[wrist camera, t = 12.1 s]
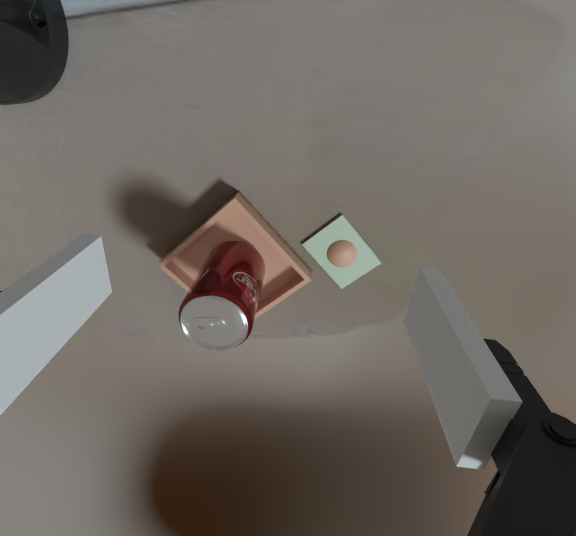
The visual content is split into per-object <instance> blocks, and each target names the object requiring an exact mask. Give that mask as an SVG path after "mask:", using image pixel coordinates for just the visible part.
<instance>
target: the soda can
mask: <svg viewBox="0 0 576 536" xmlns="http://www.w3.org/2000/svg"><path fill="white" fill-rule="evenodd" d="M264 276H265V263H264V260H263V258H262V256H261V255H260V253H259V252H258V251H257V250H256V249H255V248H253V247H252V246H250V245H249V244H247V243H244V242H240V241H227V242H223V243H221V244H219V245H217V246H216V247H214V248H213V250H212V251H211V252H210V254H209V255H208V257H207V259H206V261H205V263H204V264H203V266H202V268H201V270H200V271H199V273H198V275H197V277H196V279H195V280H194V282H193V284H192V286H191V288H190V289H189V291H188V293H187V295H186V296H185V298H184V300H183V302H182V304H181V306H180V309H179V322H180V326H181V327H182V329H183V331H184V333H185V334H186V335H187V337H188V338H189V339H190V340H191V341H192V342H194V343H195V344H197V345H199V346H201V347H203V348H206V349H209V350H217V351H218V350H219V351H220V350H227V349H231V348H234V347H237V346H238V345H240V344H242V343H243V342H244V341H245V340H246V339H247V338H248V336H249V335H250V333H251V330H252V327H253V323H254V319H255V314H256V310H257V306H258V302H259V297H260V293H261V289H262V284H263V280H264Z"/></svg>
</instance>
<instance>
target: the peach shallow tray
mask: <svg viewBox="0 0 576 536" xmlns="http://www.w3.org/2000/svg"><path fill="white" fill-rule="evenodd" d="M227 241H240V242H244V243H247V244H249V245H250V246H252V247H253V248H255V249H256V250H257V251H258V252H259V253H260V255H261V256H262V258H263V260H264V263H265V276H264V280H263V284H262V289H261V293H260V297H259V302H258V306H257V310H256V314H255V319H256V318H257V317H259V316H260V315H262V314H263V313H265V312H266V311H267V310H269V309H270V308H272V307H273V306H275V305H276V304H278V303H279V302H281V301H282V300H284V299H285V298H286V297H288V296H289V295H291V294H292V293H294V292H295V291H297V290H298V289H300V288H301V287H303V286H304V285H306V284H307V283H308V282H310V281H311V280H312V270H311V269H310V268H309V267H308V266H307V265H306V264H305V262H304V261H303V260H302V259H301V258H300V257H299V256H298V255H297V254H296V253H295V252H294V250H293V249H292V248H291V247H290V246H289V245H288V244H287V243H286V242H285V241H284V240H283V238H282V237H281V236H280V235H279V234H278V233H277V232H276V231H275V230H274V229H273V228H272V226H271V225H270V224H269V223H268V222H267V221H266V220H265V219H264V218H263V217H262V216H261V214H260V213H259V212H258V211H257V210H256V209H255V208H254V207H253V206H252V205H251V204H250V203H249V201H248V200H247V199H246V198H245V197H244V196H243V195H242V194H241V193H240V192H239V191H238V192H237V193H236V194H235V195H234V196H233V197H232V198H230V199H229V200H228V201H227V202H226V203H225V204H224V205H222V206H221V207H220V208H219V209H218V210H217V211H216V212H214V213H213V214H212V215H211V216H210V217H209V218H208V219H206V220H205V221H204V222H203V223H202V224H201V225H200V226H198V227H197V228H196V229H195V230H194V231H193V232H192V233H191V234H189V235H188V236H187V237H186V238H185V239H184V240H183V241H181V242H180V243H179V244H178V245H177V246H176V247H175V248H173V249H172V250H171V251H170V252H169V253H168V254H167V255H165V257H164V258H163V259H162V260H161V262H160V263H159V264H158V266H159V267H160V268H161V269H163V270H164V271H165V272H166V273H167V274H168V275H169V276H170V277H171V278H173V279H174V280H175V281H176V282H177V283H178V284H179V285H180V286H182V287H183V288H184V289H185V290H186V291H187V292H188V291H189V289H190V288H191V286H192V284H193V282H194V280H195V279H196V277H197V275H198V273H199V271H200V270H201V268H202V266H203V264H204V263H205V261H206V259H207V257H208V255H209V254H210V252H211V251H212V250H213V248H214V247H216V246H217V245H219V244H221V243H223V242H227Z"/></svg>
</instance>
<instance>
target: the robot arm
mask: <svg viewBox="0 0 576 536" xmlns="http://www.w3.org/2000/svg"><path fill="white" fill-rule="evenodd" d="M67 55H68V30H67V24H66V19H65V14H64V11H63V7H62V4H61V1H60V0H0V105H11V104H21V103H28V102H32V101H35V100H38V99H40V98H42V97H43V96H45V95H46V94H48V93H49V92H50V91H51V90H52V89H53V88H54V87H55V86H56V84H57V83H58V81H59V80H60V78H61V76H62V74H63V71H64V68H65V65H66V61H67ZM111 293H112V291H111V285H110V280H109V275H108V270H107V265H106V259H105V254H104V249H103V244H102V239H101V236H94V235H84V234H83V235H81V236H80V237H78V238H77V239H76V240H74V241H73V242H71V243H70V244H69V245H67V246H66V247H64V248H63V249H62V250H60V251H59V252H57V253H56V254H54V255H53V256H52V257H50V258H49V259H47V260H46V261H45V262H43V263H42V264H40V265H39V266H38V267H36V268H35V269H33V270H32V271H31V272H29V273H28V274H26V275H25V276H24V277H22V278H21V279H19V280H18V281H17V282H15V283H14V284H12V285H11V286H10V287H8V288H7V289H5V290H4V291H0V415H1V414H2V413H3V412H4V411H5V410H6V408H7V407H8V406H9V405H10V404H11V403H12V402H13V401H14V399H15V398H16V397H17V396H18V395H19V394H20V393H21V392H22V391H23V390H24V389H25V387H26V386H27V385H28V384H29V383H30V382H31V381H32V380H33V379H34V378H35V376H36V375H37V374H38V373H39V372H40V371H41V370H42V369H43V368H44V366H45V365H46V364H47V363H48V362H49V361H50V360H51V359H52V358H53V356H54V355H55V354H56V353H57V352H58V351H59V350H60V349H61V348H62V347H63V346H64V344H65V343H66V342H67V341H68V340H69V339H70V338H71V337H72V336H73V335H74V333H75V332H76V331H77V330H78V329H79V328H80V327H81V326H82V325H83V324H84V322H85V321H86V320H87V319H88V318H89V317H90V316H91V315H92V314H93V313H94V311H95V310H96V309H97V308H98V307H99V306H100V305H101V304H102V303H103V301H104V300H105V299H106V298H107V297H108V296H109V295H110V294H111ZM404 322H405V325H406V328H407V331H408V333H409V336H410V339H411V341H412V345H413V347H414V350H415V353H416V356H417V358H418V361H419V364H420V366H421V370H422V372H423V375H424V378H425V381H426V383H427V386H428V389H429V392H430V395H431V397H432V400H433V403H434V406H435V408H436V411H437V414H438V417H439V419H440V422H441V425H442V428H443V431H444V433H445V436H446V439H447V442H448V444H449V447H450V450H451V453H452V456H453V458H454V461H455V464H456V466H457V467H467V468H475V469H484V468H485V466H486V465H487V463H488V461H489V460H490V458H491V456H492V457H493V460H494V462H495V464H496V467H497V469H498V471H497V473H496V475H495V476H494V478H493V479H492V481H491V483H490V484H489V486H488V488H487V490H486V491H485V494H486V495H485V498H484V500H483V502H482V504H481V506H480V509H479V511H478V513H477V515H476V517H475V520H474V522H473V524H472V526H471V528H470V531H469V533H468V535H467V536H576V424H574V423H573V422H571V421H570V420H568V419H566V418H565V417H562V416H560V415H558V414H555V413H551V411H550V410H549V409H548V407H547V405H546V404H545V402H544V401H543V399H542V398H541V397H540V395H539V394H538V392H537V391H536V389H535V388H534V387H533V385H532V384H531V382H530V381H529V379H528V378H527V377H526V376H524V372H523V371H522V369H521V368H520V367H519V366H517V362H516V361H515V359H514V358H513V356H512V355H511V353H510V352H509V351H508V350H507V349H506V348H504V347H503V346H502V345H501V344H500V343H498V342H497V341H496V340H490V339H483V338H482V336H481V335H480V333H479V332H478V330H477V329H476V327H475V325H474V324H473V322H472V321H471V319H470V317H469V316H468V314H467V313H466V311H465V310H464V308H463V306H462V305H461V303H460V302H459V300H458V299H457V297H456V295H455V294H454V292H453V291H452V289H451V287H450V286H449V284H448V283H447V281H446V279H445V278H444V276H443V275H442V273H441V271H440V270H439V269H430V268H420V270H419V274H418V277H417V280H416V284H415V287H414V290H413V294H412V297H411V301H410V304H409V307H408V311H407V314H406V318H405V321H404Z"/></svg>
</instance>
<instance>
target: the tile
mask: <svg viewBox="0 0 576 536" xmlns="http://www.w3.org/2000/svg"><path fill="white" fill-rule="evenodd" d="M302 245H303V246H304V248H305V249H306V250H307V251H308V252H309V253H310V254H311V255H312V256H313V258H314V259H315V260H316V261H317V262H318V263H319V264H320V265H321V266H322V268H323V269H324V270H325V271H326V272H327V273H328V274H329V275H330V276H331V278H332V279H333V280H334V281H335V282H336V283H337V284H338V285H339V286H340V288H341V289H342V288H344V287H345V286H347V285H349V284H350V283H352V282H353V281H355V280H356V279H358V278H359V277H361V276H362V275H364V274H366V273H367V272H369V271H370V270H372V269H373V268H375V267H376V266H378V265H379V264H381V261H380V260H379V259H378V257H377V256H376V255H375V254H374V252H373V251H372V250H371V249H370V247H369V246H368V245H367V244H366V243H365V241H364V240H363V239H362V238H361V236H360V235H359V234H358V233H357V232H356V230H355V229H354V228H353V227H352V225H351V224H350V223H349V222H348V220H347V219H346V218H345V217H344V216H343V214H342V215H340V216H339V217H338V218H336V219H335V220H333V221H332V222H331V223H329V224H328V225H327V226H325V227H324V228H323V229H321V230H320V231H319V232H317V233H316V234H315V235H313V236H312V237H310V238H309V239H308V240H306V241H305V242H304V243H302Z"/></svg>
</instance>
